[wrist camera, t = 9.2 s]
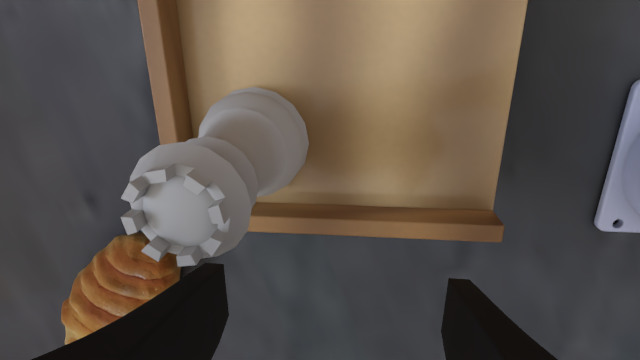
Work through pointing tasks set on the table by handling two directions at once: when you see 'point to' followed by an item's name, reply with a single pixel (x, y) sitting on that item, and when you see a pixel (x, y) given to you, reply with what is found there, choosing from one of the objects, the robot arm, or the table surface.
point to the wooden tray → (355, 103)
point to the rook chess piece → (215, 176)
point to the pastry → (116, 285)
